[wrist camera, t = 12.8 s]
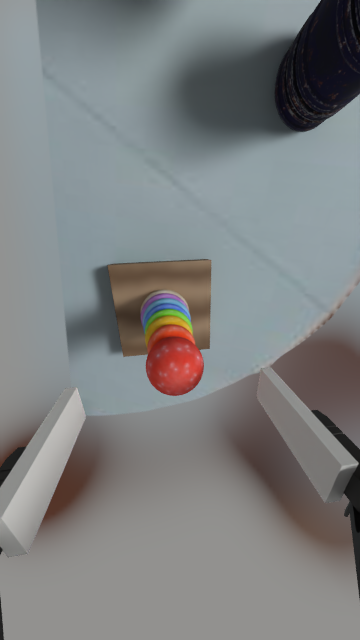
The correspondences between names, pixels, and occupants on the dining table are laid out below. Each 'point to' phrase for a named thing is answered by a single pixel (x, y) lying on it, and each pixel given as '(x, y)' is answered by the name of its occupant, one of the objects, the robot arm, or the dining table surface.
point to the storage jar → (321, 66)
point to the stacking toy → (170, 343)
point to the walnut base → (148, 277)
